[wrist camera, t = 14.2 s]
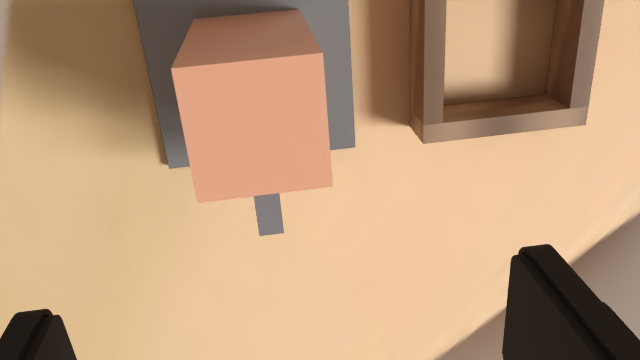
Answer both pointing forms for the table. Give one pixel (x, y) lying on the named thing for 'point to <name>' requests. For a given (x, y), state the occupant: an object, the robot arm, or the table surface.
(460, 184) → the table surface
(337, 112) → the rubber mat
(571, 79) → the frame
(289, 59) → the peach block with tab
